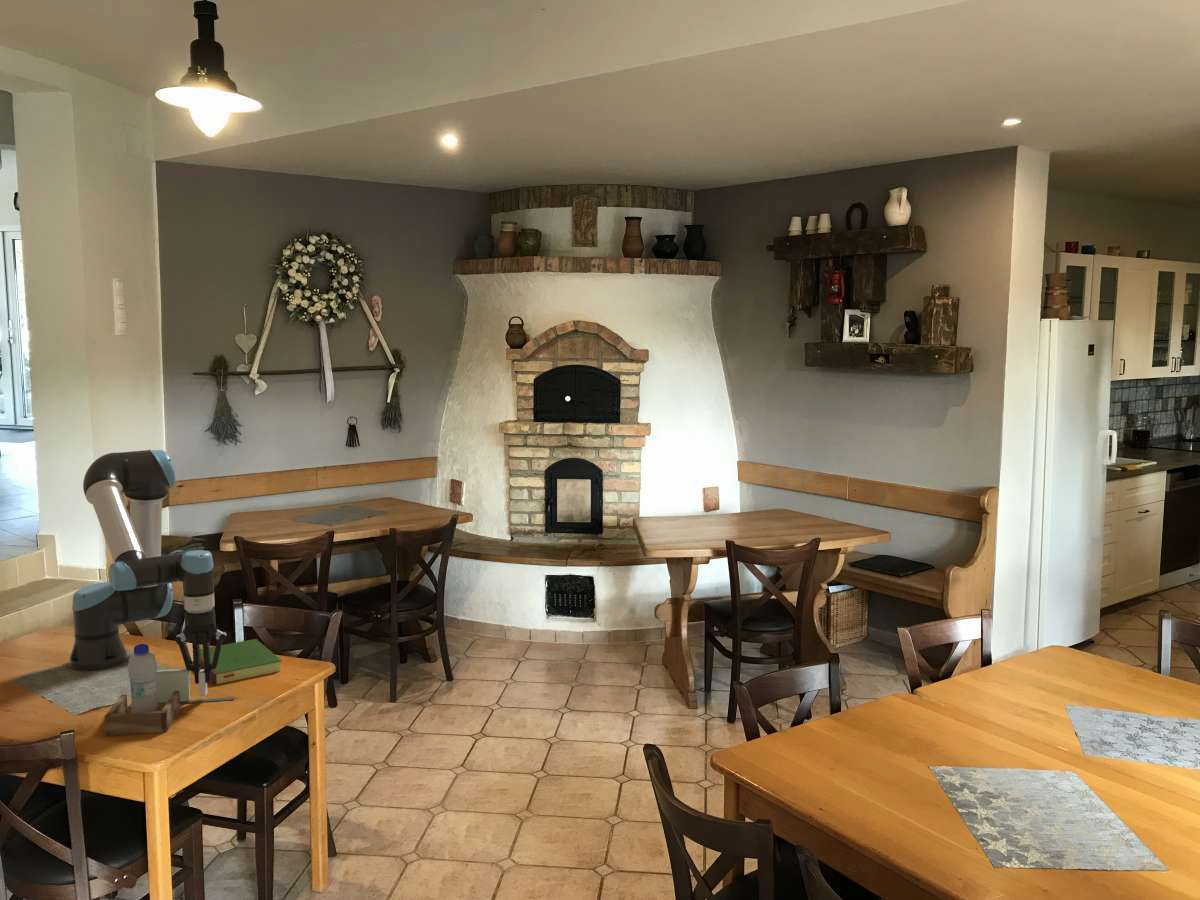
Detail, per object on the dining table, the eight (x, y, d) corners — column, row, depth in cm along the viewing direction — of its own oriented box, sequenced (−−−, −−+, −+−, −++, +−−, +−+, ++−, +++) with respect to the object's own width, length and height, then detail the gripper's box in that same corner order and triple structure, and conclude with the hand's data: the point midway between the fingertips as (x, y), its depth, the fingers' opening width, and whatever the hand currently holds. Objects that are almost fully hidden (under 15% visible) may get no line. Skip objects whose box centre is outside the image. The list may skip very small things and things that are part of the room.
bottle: (148, 726, 236) (143, 649, 233) (124, 724, 237) (120, 647, 235) (165, 716, 242) (161, 641, 240) (142, 713, 244) (138, 639, 241)
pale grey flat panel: (138, 702, 250) (136, 671, 248) (190, 699, 252) (188, 668, 251) (136, 704, 248) (135, 673, 247) (189, 700, 251) (187, 669, 250)
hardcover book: (193, 662, 283) (192, 650, 283) (256, 650, 294) (256, 638, 294) (215, 687, 263) (215, 674, 263) (282, 673, 274) (282, 661, 274)
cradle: (129, 704, 250) (127, 686, 249) (235, 697, 255) (234, 679, 254) (105, 736, 230) (104, 716, 229) (221, 727, 235) (220, 708, 235)
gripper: (169, 614, 244) (174, 701, 247) (223, 611, 247) (226, 697, 250) (176, 606, 252) (180, 691, 255) (228, 603, 254) (231, 687, 257)
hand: (203, 694), depth 252 cm, fingers closed
